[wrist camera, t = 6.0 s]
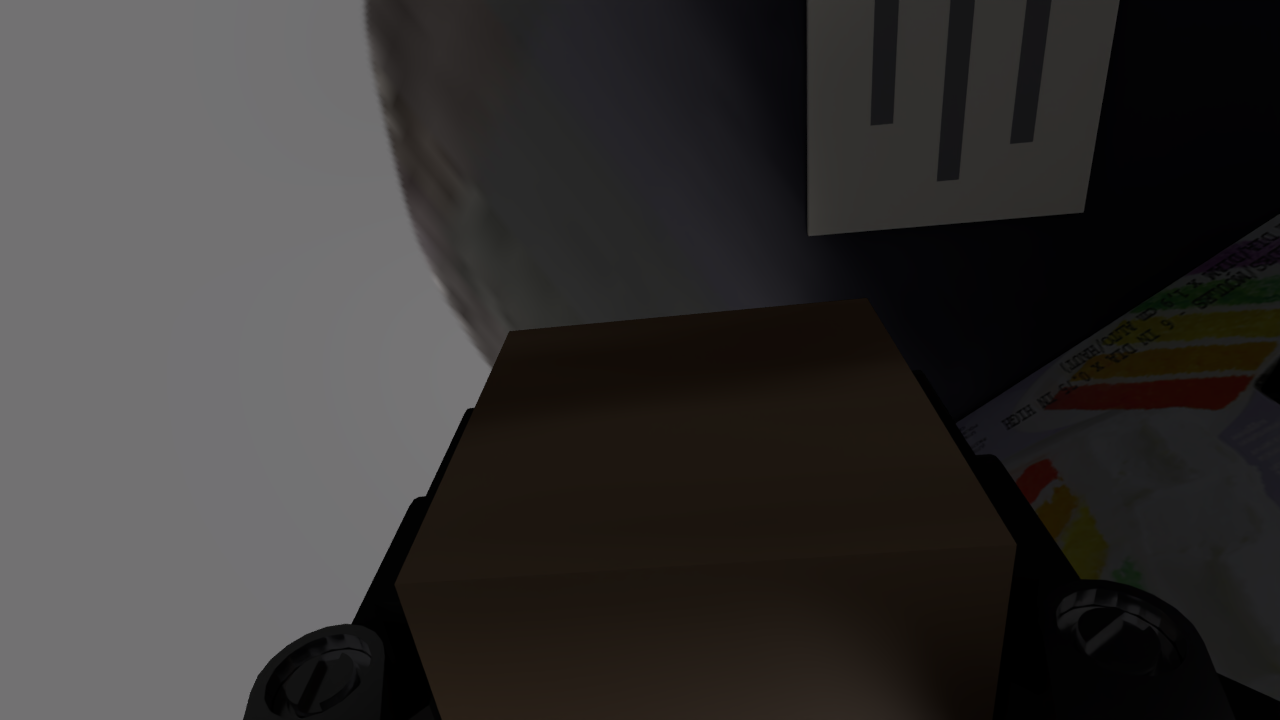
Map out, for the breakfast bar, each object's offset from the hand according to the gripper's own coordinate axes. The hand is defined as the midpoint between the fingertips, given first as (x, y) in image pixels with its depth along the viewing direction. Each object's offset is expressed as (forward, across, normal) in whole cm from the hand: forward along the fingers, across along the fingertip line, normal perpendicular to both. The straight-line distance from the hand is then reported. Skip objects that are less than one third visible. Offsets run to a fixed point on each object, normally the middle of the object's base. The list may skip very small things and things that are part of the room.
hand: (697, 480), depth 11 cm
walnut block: (+1, 0, 0) cm, 1 cm away
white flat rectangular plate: (+16, -9, -4) cm, 19 cm away
